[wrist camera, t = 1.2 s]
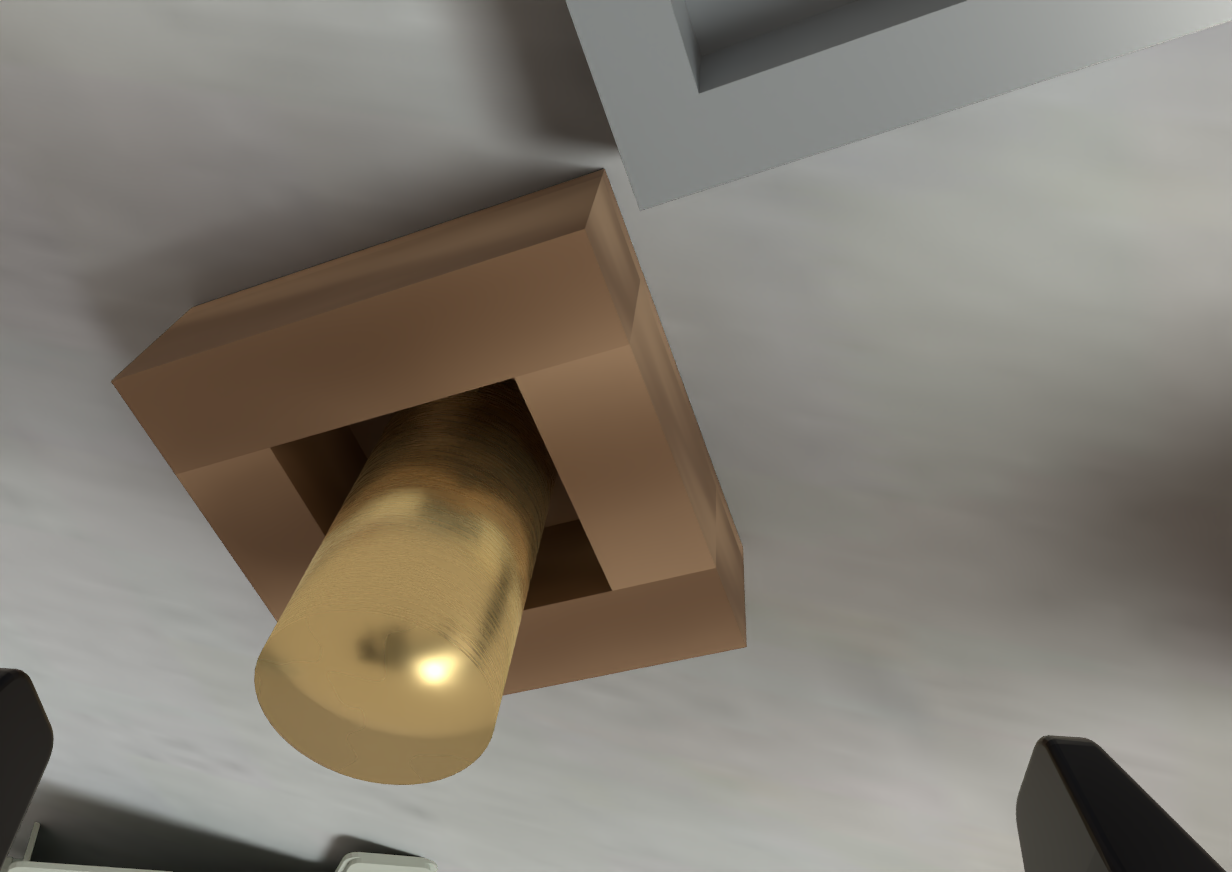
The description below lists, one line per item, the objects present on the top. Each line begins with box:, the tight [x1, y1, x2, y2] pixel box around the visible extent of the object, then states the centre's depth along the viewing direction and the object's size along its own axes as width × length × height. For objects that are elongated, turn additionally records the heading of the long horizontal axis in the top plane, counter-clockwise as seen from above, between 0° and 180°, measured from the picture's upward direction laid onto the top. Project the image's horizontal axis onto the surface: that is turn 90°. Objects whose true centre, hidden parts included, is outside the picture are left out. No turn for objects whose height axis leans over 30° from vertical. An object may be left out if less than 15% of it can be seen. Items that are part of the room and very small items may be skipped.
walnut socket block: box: [111, 169, 747, 695], centre depth 22 cm, size 10×10×4 cm
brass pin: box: [254, 379, 557, 785], centre depth 19 cm, size 4×4×8 cm
